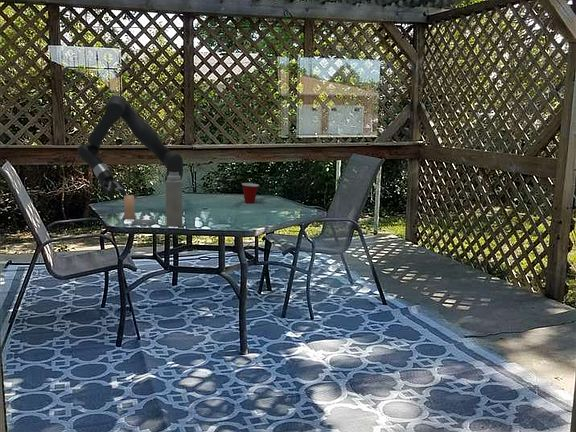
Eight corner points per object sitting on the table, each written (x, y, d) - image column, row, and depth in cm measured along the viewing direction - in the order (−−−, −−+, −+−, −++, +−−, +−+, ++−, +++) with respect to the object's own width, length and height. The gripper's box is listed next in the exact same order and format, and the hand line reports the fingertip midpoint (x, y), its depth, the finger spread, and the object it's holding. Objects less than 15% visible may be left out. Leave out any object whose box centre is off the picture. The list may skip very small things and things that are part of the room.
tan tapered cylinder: (134, 217, 328) (133, 195, 326) (135, 219, 323) (134, 196, 321) (124, 217, 326) (123, 195, 324) (124, 219, 322) (124, 196, 319)
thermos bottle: (167, 223, 314) (166, 168, 309) (183, 223, 314) (183, 168, 309) (165, 226, 306) (164, 170, 301) (181, 226, 306) (180, 170, 301)
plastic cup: (258, 204, 379) (258, 185, 377) (240, 204, 379) (240, 184, 377) (259, 201, 390) (259, 182, 388) (242, 201, 390) (242, 182, 388)
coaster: (154, 220, 321) (154, 219, 321) (157, 224, 310) (157, 223, 310) (130, 221, 317) (130, 220, 317) (132, 225, 306) (132, 224, 306)
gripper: (110, 177, 337) (125, 200, 333) (89, 179, 325) (105, 203, 321) (116, 168, 333) (132, 191, 329) (96, 170, 321) (112, 193, 317)
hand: (119, 197), depth 325 cm, fingers open, 8 cm apart
